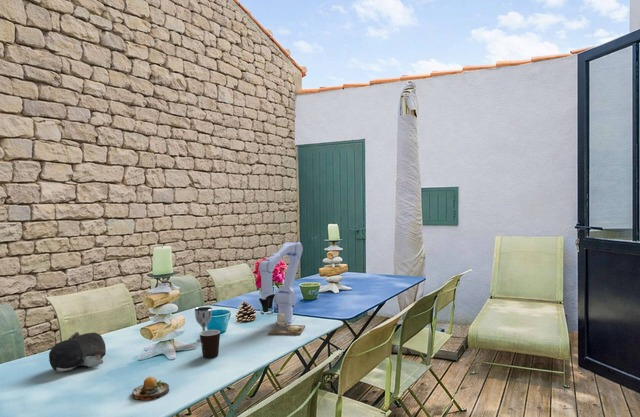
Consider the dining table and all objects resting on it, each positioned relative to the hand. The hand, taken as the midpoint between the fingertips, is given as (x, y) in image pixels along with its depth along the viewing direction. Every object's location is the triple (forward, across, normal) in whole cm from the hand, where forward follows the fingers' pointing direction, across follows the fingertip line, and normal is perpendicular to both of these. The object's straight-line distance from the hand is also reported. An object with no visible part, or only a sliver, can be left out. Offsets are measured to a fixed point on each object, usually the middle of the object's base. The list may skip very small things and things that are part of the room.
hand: (267, 310), depth 227 cm
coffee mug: (+10, +41, -14) cm, 44 cm away
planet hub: (+8, +3, +8) cm, 12 cm away
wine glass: (+10, +21, -26) cm, 35 cm away
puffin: (+10, +58, -64) cm, 87 cm away
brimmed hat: (+10, +80, -20) cm, 83 cm away
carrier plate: (+9, +4, +11) cm, 15 cm away
